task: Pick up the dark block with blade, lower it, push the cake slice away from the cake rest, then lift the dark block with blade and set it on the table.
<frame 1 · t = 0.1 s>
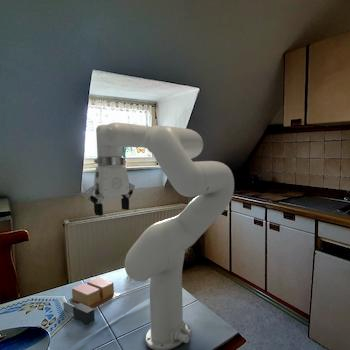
hand: (112, 212, 88), 37 cm above the table, tool pointing down, fingers open, 9 cm apart
cake board: (95, 299, 101), on the table
cake slice: (86, 299, 99), point 1 cm above the table, touching cake board
dark block with blade: (84, 321, 87), on the table
cake rest: (100, 292, 104), point 1 cm above the table, touching cake board
mug: (135, 278, 118), on the table
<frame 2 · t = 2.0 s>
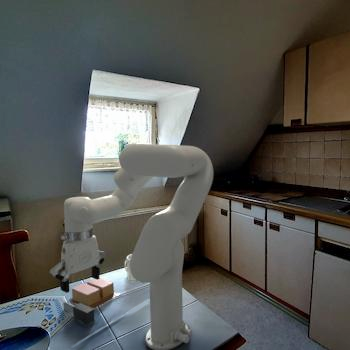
hand: (81, 284, 86), 13 cm above the table, tool pointing down, fingers open, 9 cm apart
nothing on the table moved.
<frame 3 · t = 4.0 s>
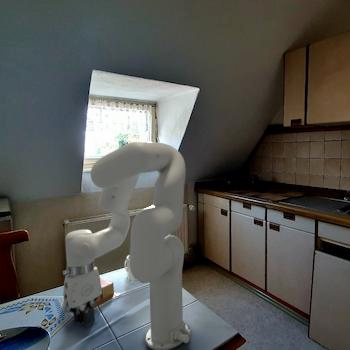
hand: (84, 320, 87), 1 cm above the table, tool pointing down, fingers closed on dark block with blade, 2 cm apart
dark block with blade: (84, 321, 87), on the table, touching gripper
everything else where it was.
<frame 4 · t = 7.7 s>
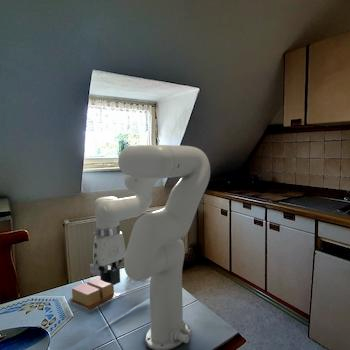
hand: (110, 279, 95), 10 cm above the table, tool pointing down, fingers closed on dark block with blade, 2 cm apart
dark block with blade: (110, 281, 95), point 10 cm above the table, touching gripper
everything else where it was.
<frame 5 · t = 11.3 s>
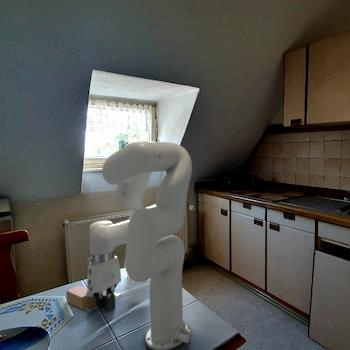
hand: (105, 304, 94), 2 cm above the table, tool pointing down, fingers closed on dark block with blade, 2 cm apart
cake slice: (80, 302, 97), point 1 cm above the table, touching cake board, dark block with blade
dark block with blade: (105, 306, 94), point 1 cm above the table, touching cake slice, gripper
everything else where it was.
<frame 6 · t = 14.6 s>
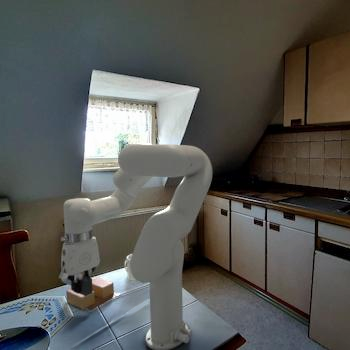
hand: (81, 289, 86), 11 cm above the table, tool pointing down, fingers closed on dark block with blade, 2 cm apart
cake slice: (80, 302, 97), point 1 cm above the table, touching cake board
dark block with blade: (81, 291, 86), point 11 cm above the table, touching gripper
everything else where it was.
when the fingers open (1 cm above the table, at t = 17.2 s): dark block with blade stays where it is, on the table.
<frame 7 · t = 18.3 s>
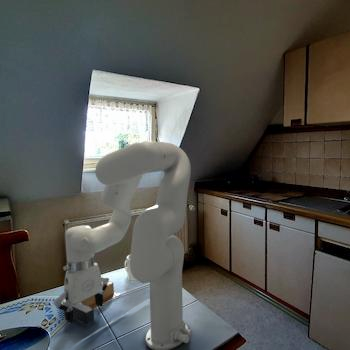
hand: (85, 313, 87), 3 cm above the table, tool pointing down, fingers open, 9 cm apart
dark block with blade: (83, 321, 87), on the table
everything else where it was.
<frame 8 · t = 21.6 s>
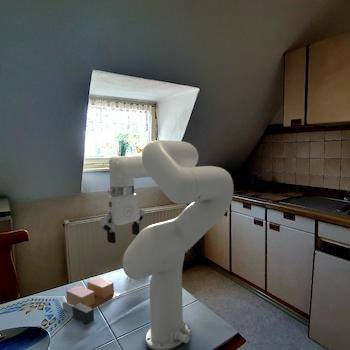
hand: (124, 238, 93), 26 cm above the table, tool pointing down, fingers open, 9 cm apart
nothing on the table moved.
at the end: cake slice moved 2.0 cm from its start; dark block with blade inside the target area (0.3 cm from its centre), on the table; the gripper is holding nothing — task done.
